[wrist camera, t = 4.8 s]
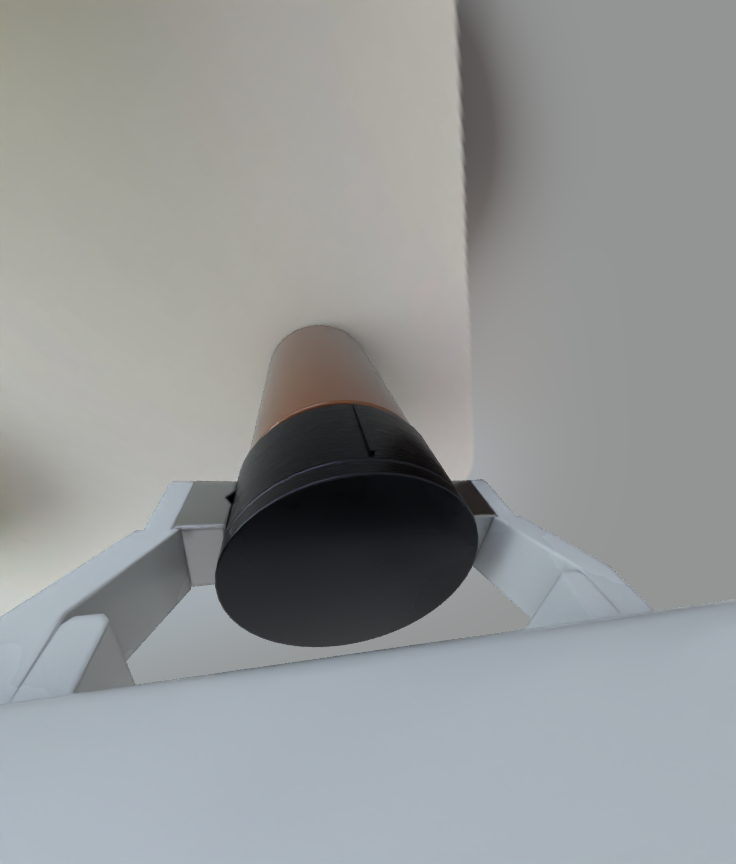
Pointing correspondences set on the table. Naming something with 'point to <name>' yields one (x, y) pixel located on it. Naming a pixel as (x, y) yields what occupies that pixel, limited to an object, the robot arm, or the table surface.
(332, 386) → the jar
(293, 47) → the table surface
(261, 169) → the table surface
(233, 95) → the table surface
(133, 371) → the table surface
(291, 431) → the lid
